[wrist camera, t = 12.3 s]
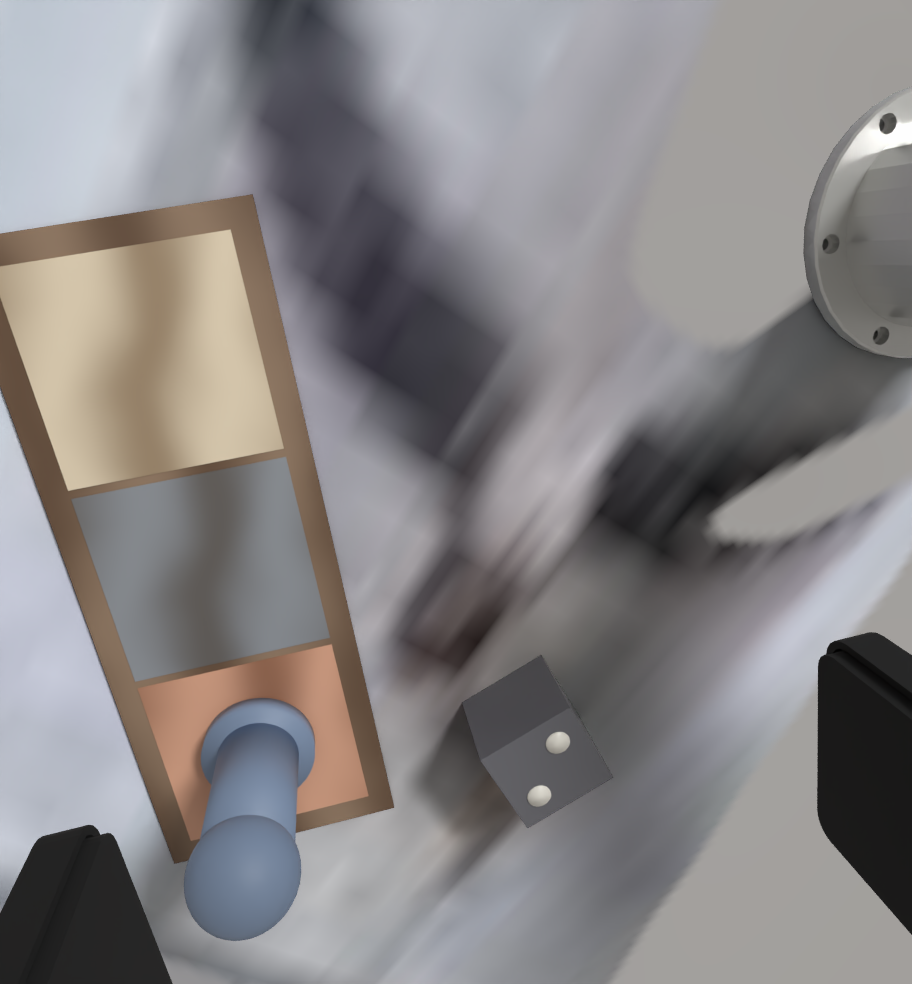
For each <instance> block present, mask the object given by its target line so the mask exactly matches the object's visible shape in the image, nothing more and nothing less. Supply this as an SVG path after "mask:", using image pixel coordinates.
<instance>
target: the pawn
mask: <svg viewBox="0 0 912 984" xmlns="http://www.w3.org/2000/svg"><path fill="white" fill-rule="evenodd" d="M314 759H315V736H314V731H313V728H312V726H311V724H310V722H309V720H308V719H307V718H306V716H305V715H304V714H303V713H302V712H301V711H300V710H298V709H297V708H296V707H294V706H292V705H291V704H289V703H286V702H284V701H281V700H277V699H272V698H252V699H247V700H243V701H240V702H237V703H235V704H233V705H231V706H229V707H227V708H226V709H224V710H223V711H222V712H220V713H219V714H218V715H217V716H216V717H215V719H214V720H213V721H212V722H211V724H210V726H209V727H208V730H207V732H206V735H205V739H204V743H203V747H202V751H201V766H202V770H203V773H204V775H205V777H206V779H207V780H208V782H209V783H210V784H211V789H210V794H209V798H208V803H207V808H206V813H205V818H204V822H203V827H202V832H201V837H200V841H199V842H198V843H197V845H196V846H195V848H194V850H193V852H192V854H191V856H190V858H189V861H188V864H187V867H186V871H185V878H184V893H185V899H186V903H187V906H188V909H189V911H190V913H191V915H192V917H193V918H194V920H195V921H196V922H197V924H198V925H199V926H200V927H201V928H202V929H204V930H205V931H206V932H208V933H209V934H211V935H213V936H215V937H217V938H220V939H224V940H231V941H240V940H246V939H251V938H254V937H256V936H259V935H261V934H263V933H264V932H266V931H268V930H269V929H271V928H272V927H273V926H275V925H276V924H277V923H278V922H279V921H280V920H281V919H282V918H283V917H284V915H285V914H286V913H287V911H288V910H289V908H290V907H291V905H292V903H293V901H294V899H295V897H296V895H297V891H298V888H299V884H300V878H301V860H300V855H299V851H298V848H297V845H296V843H295V834H296V812H297V789H298V787H299V786H300V785H302V783H303V782H304V781H305V780H306V779H307V777H308V775H309V774H310V772H311V770H312V767H313V764H314Z"/></svg>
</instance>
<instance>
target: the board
mask: <svg viewBox="0 0 912 984" xmlns="http://www.w3.org/2000/svg"><path fill="white" fill-rule="evenodd" d="M0 387H1V390H2V392H3V395H4V398H5V401H6V403H7V406H8V409H9V412H10V414H11V417H12V420H13V423H14V425H15V428H16V431H17V434H18V436H19V439H20V442H21V444H22V447H23V450H24V453H25V455H26V458H27V461H28V464H29V466H30V469H31V472H32V475H33V477H34V480H35V483H36V486H37V488H38V491H39V494H40V497H41V499H42V502H43V505H44V508H45V510H46V513H47V516H48V518H49V521H50V524H51V527H52V529H53V532H54V535H55V538H56V540H57V543H58V546H59V549H60V551H61V554H62V557H63V560H64V562H65V565H66V568H67V571H68V573H69V576H70V579H71V581H72V584H73V587H74V590H75V592H76V595H77V598H78V601H79V603H80V606H81V609H82V612H83V614H84V617H85V620H86V623H87V625H88V628H89V631H90V634H91V636H92V639H93V642H94V645H95V647H96V650H97V653H98V655H99V658H100V661H101V664H102V666H103V669H104V672H105V675H106V677H107V680H108V683H109V686H110V688H111V691H112V694H113V697H114V699H115V702H116V705H117V708H118V710H119V713H120V716H121V719H122V721H123V724H124V727H125V729H126V732H127V735H128V738H129V740H130V743H131V746H132V749H133V751H134V754H135V757H136V760H137V762H138V765H139V768H140V771H141V773H142V776H143V779H144V782H145V784H146V787H147V790H148V792H149V795H150V798H151V801H152V803H153V806H154V809H155V812H156V814H157V817H158V820H159V823H160V825H161V828H162V831H163V834H164V836H165V839H166V842H167V845H168V847H169V850H170V853H171V856H172V858H173V861H174V864H175V863H179V862H183V861H187V860H189V858H190V856H191V854H192V852H193V850H194V848H195V846H196V845H197V843H198V842H199V841H200V837H201V832H202V827H203V822H204V818H205V813H206V808H207V803H208V798H209V794H210V789H211V784H210V783H209V782H208V780H207V779H206V777H205V775H204V773H203V770H202V766H201V751H202V747H203V743H204V739H205V735H206V732H207V730H208V727H209V726H210V724H211V722H212V721H213V720H214V719H215V717H216V716H217V715H218V714H219V713H220V712H222V711H223V710H224V709H226V708H227V707H229V706H231V705H233V704H235V703H237V702H240V701H243V700H247V699H252V698H272V699H277V700H281V701H284V702H286V703H289V704H291V705H292V706H294V707H296V708H297V709H298V710H300V711H301V712H302V713H303V714H304V715H305V716H306V718H307V719H308V720H309V722H310V724H311V726H312V728H313V731H314V736H315V759H314V764H313V767H312V770H311V772H310V774H309V775H308V777H307V779H306V780H305V781H304V782H303V783H302V785H300V786H299V787H298V789H297V812H296V833H297V832H301V831H305V830H309V829H312V828H316V827H320V826H324V825H328V824H332V823H336V822H340V821H344V820H348V819H352V818H355V817H359V816H363V815H367V814H371V813H375V812H379V811H383V810H387V809H391V808H394V804H393V800H392V796H391V791H390V787H389V783H388V778H387V774H386V770H385V765H384V761H383V757H382V752H381V748H380V744H379V739H378V735H377V731H376V726H375V722H374V718H373V713H372V709H371V705H370V700H369V696H368V692H367V687H366V683H365V679H364V674H363V670H362V666H361V661H360V657H359V653H358V648H357V644H356V640H355V635H354V631H353V627H352V622H351V618H350V614H349V609H348V605H347V601H346V596H345V592H344V588H343V583H342V579H341V575H340V570H339V566H338V562H337V557H336V553H335V549H334V544H333V540H332V536H331V531H330V527H329V523H328V518H327V514H326V510H325V505H324V501H323V497H322V492H321V488H320V484H319V480H318V475H317V471H316V467H315V462H314V458H313V454H312V449H311V445H310V441H309V436H308V432H307V428H306V423H305V419H304V415H303V410H302V406H301V402H300V397H299V393H298V389H297V384H296V380H295V376H294V371H293V367H292V363H291V358H290V354H289V350H288V345H287V341H286V337H285V332H284V328H283V324H282V319H281V315H280V311H279V306H278V302H277V298H276V293H275V289H274V285H273V280H272V276H271V272H270V267H269V263H268V259H267V254H266V250H265V246H264V241H263V237H262V233H261V228H260V224H259V220H258V215H257V211H256V207H255V202H254V198H253V195H246V196H239V197H233V198H226V199H220V200H214V201H207V202H201V203H194V204H188V205H182V206H175V207H169V208H162V209H156V210H149V211H143V212H137V213H130V214H124V215H117V216H111V217H104V218H98V219H92V220H85V221H79V222H72V223H66V224H60V225H53V226H47V227H40V228H34V229H27V230H21V231H15V232H8V233H2V234H0Z"/></svg>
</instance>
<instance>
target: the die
mask: <svg viewBox="0 0 912 984" xmlns="http://www.w3.org/2000/svg"><path fill="white" fill-rule="evenodd" d="M462 704H463V707H464V710H465V714H466V717H467V720H468V723H469V726H470V729H471V733H472V736H473V739H474V742H475V745H476V749H477V752H478V755H479V758H480V761H481V762H482V764H483V765H484V767H485V768H486V770H487V771H488V772H489V774H490V775H491V777H492V778H493V780H494V781H495V782H496V784H497V785H498V787H499V788H500V790H501V791H502V792H503V794H504V795H505V797H506V798H507V800H508V801H509V802H510V804H511V805H512V807H513V808H514V810H515V811H516V812H517V814H518V815H519V817H520V818H521V820H522V821H523V822H524V824H525V825H526V827H527V828H529V827H531V826H532V825H534V824H536V823H537V822H539V821H541V820H542V819H544V818H546V817H547V816H549V815H551V814H553V813H554V812H556V811H558V810H559V809H561V808H563V807H564V806H566V805H568V804H569V803H571V802H573V801H574V800H576V799H578V798H579V797H581V796H583V795H584V794H586V793H588V792H589V791H591V790H593V789H594V788H596V787H598V786H600V785H601V784H603V783H605V782H606V781H608V780H610V779H611V778H613V776H612V774H611V773H610V771H609V769H608V767H607V765H606V764H605V762H604V760H603V758H602V757H601V755H600V753H599V751H598V749H597V748H596V746H595V744H594V742H593V740H592V739H591V737H590V735H589V733H588V732H587V730H586V728H585V726H584V724H583V723H582V721H581V719H580V717H579V716H578V714H577V713H576V711H575V709H574V708H573V706H572V704H571V703H570V701H569V699H568V698H567V696H566V695H565V693H564V691H563V690H562V688H561V686H560V685H559V683H558V682H557V680H556V678H555V677H554V675H553V673H552V672H551V670H550V668H549V667H548V665H547V664H546V662H545V660H544V659H543V657H542V655H541V656H539V657H537V658H536V659H534V660H532V661H531V662H529V663H527V664H526V665H524V666H522V667H521V668H519V669H517V670H516V671H514V672H512V673H511V674H509V675H507V676H506V677H504V678H502V679H501V680H499V681H497V682H496V683H494V684H492V685H491V686H489V687H487V688H486V689H484V690H482V691H481V692H479V693H477V694H476V695H474V696H472V697H471V698H469V699H467V700H465V701H464V702H462Z"/></svg>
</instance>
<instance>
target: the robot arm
mask: <svg viewBox="0 0 912 984" xmlns="http://www.w3.org/2000/svg"><path fill="white" fill-rule="evenodd" d="M804 261H805V268H806V276H807V280H808V284H809V287H810V290H811V293H812V296H813V299H814V301H815V303H816V305H817V307H818V308H819V310H820V312H821V314H822V315H823V317H824V319H825V320H826V322H827V323H828V324H829V325H830V326H831V327H832V328H833V329H834V330H835V331H836V332H837V333H838V335H839V336H841V337H842V338H844V339H845V340H847V341H848V342H850V343H851V344H853V345H854V346H856V347H858V348H860V349H863V350H866V351H868V352H871V353H874V354H878V355H885V356H890V357H895V358H912V86H911V87H909V88H906V89H904V90H901V91H899V92H896V93H894V94H892V95H890V96H889V97H887V98H886V99H884V100H883V101H881V102H879V103H878V104H876V105H875V106H873V107H872V108H871V109H869V111H867V112H866V113H865V114H864V115H863V116H862V117H861V118H860V119H859V120H858V121H856V122H855V123H854V124H853V125H852V126H851V127H850V129H849V130H848V131H847V132H846V134H845V135H844V136H843V137H842V139H841V140H840V142H839V143H838V144H837V145H836V146H835V148H834V149H833V151H832V153H831V155H830V156H829V158H828V160H827V162H826V164H825V165H824V167H823V169H822V171H821V173H820V175H819V177H818V180H817V183H816V186H815V189H814V191H813V194H812V196H811V199H810V203H809V208H808V213H807V218H806V223H805V230H804ZM817 792H818V793H817V796H818V797H817V798H818V799H817V804H818V805H817V808H818V809H817V810H818V817H819V821H820V824H821V826H822V829H823V831H824V832H825V834H826V836H827V837H828V839H829V840H830V841H831V843H832V844H833V845H834V846H835V847H836V848H837V850H838V851H839V852H840V853H841V854H842V855H843V856H844V858H845V859H846V860H847V861H848V862H849V863H850V864H851V866H852V867H853V868H854V869H855V870H856V871H857V872H858V874H859V875H860V876H861V877H862V878H863V879H864V881H865V882H866V883H867V884H868V885H869V886H870V887H871V888H872V890H873V891H874V892H875V893H876V894H877V895H878V896H879V898H880V899H881V900H882V901H883V902H884V903H885V905H886V906H887V907H888V908H889V909H890V910H891V911H892V912H893V914H894V915H895V916H896V917H897V918H898V919H899V921H900V922H901V923H902V924H903V925H904V926H905V927H906V929H907V930H908V931H909V932H910V933H911V934H912V655H911V654H909V653H908V652H906V651H905V650H903V649H902V648H900V647H899V646H897V645H896V644H894V643H893V642H891V641H890V640H888V639H887V638H885V637H884V636H882V635H880V634H878V633H872V632H871V633H865V634H861V635H857V636H853V637H849V638H845V639H841V640H837V641H834V642H832V643H830V645H829V646H828V648H827V653H826V655H824V656H822V657H821V658H820V660H819V663H818V788H817ZM0 984H172V981H171V979H170V976H169V974H168V971H167V969H166V966H165V963H164V961H163V958H162V956H161V953H160V951H159V948H158V946H157V943H156V941H155V938H154V935H153V933H152V930H151V928H150V925H149V923H148V920H147V918H146V915H145V913H144V910H143V907H142V905H141V902H140V900H139V897H138V895H137V892H136V890H135V887H134V885H133V882H132V880H131V877H130V874H129V872H128V869H127V867H126V864H125V862H124V859H123V857H122V854H121V852H120V849H119V846H118V844H117V841H116V840H115V838H114V836H113V835H112V834H111V833H106V834H102V835H100V833H99V831H98V829H96V828H95V827H94V826H93V825H86V826H82V827H78V828H74V829H70V830H66V831H62V832H58V833H54V834H50V835H46V836H42V837H41V838H39V839H38V840H37V841H36V843H35V844H34V846H33V847H32V849H31V851H30V853H29V856H28V858H27V860H26V862H25V864H24V866H23V868H22V870H21V872H20V874H19V876H18V878H17V880H16V882H15V884H14V886H13V888H12V890H11V892H10V894H9V896H8V898H7V901H6V903H5V905H4V907H3V909H2V911H1V913H0Z"/></svg>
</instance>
